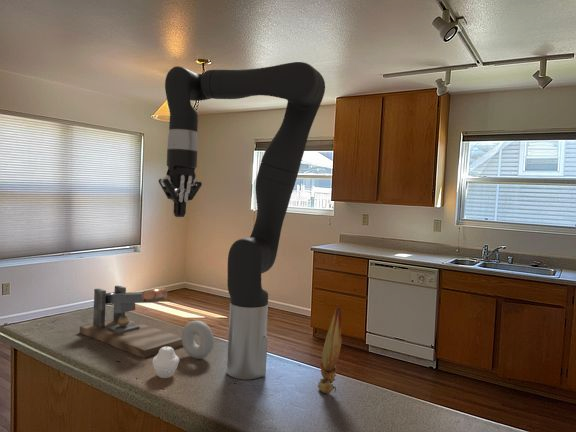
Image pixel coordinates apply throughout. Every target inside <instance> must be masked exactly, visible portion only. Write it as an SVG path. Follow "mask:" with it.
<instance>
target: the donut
mask: <svg viewBox="0 0 576 432" xmlns="http://www.w3.org/2000/svg"><path fill="white" fill-rule="evenodd" d="M195 334H196V335H198V336H199V338H200V345H199V344H197V342H196V340H195ZM181 338H182V344H183V346H182V348H183V349H184V351H185V353H186V354H188V356H190V357H191V358H193V359H197V360H201V359H204V358H207V357H208V356H209V355H210V354H211V353H212V351H213V349H214V344H215V336H214V333H213V331H212V329H211V327H210V326H209V325H208V324H207V323H206V322H204V321H201V320H192V321H189V322H188V323H187V324H185V325H184V327H183V330H182V331H181Z"/></svg>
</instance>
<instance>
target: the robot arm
mask: <svg viewBox="0 0 576 432" xmlns="http://www.w3.org/2000/svg"><path fill="white" fill-rule="evenodd" d="M164 88H165V89H164V90H165V95H166V100H167V101H166V102H167V107H168V110H169V121H168V122H169V125H168V126H169V127H168V135H167V146H166V149H167V150H166V166H167V171H166V174H165V176H164V177H163V178H159V179H158V184H159V186H160V187H161V189H162V190H163V192H164V194H165V196H166V198H167V199H168V200H171V201H172V202H173V215H174V217H176V218H185V216H186V214H187V213H186V211H187V210H186V209H187V203H188V202H189V201H192V200H194V197H196V195H197V193H198V192H199V190H200V189H201V187H202V184H203V183H202V181H198V179H197V178H196V172H195V171H196V168H198V148H199V147H198V146H199V143H198V142H199V139H198V126H199V125H198V123H199V116H198V115H199V114H198V112H197V110H196V109H195V108H194V107H193V106H192V102H191V101H195V102H199V101H207V100H211V99H213V100H239V99H244V98H248V97H249V98H250V97H252V96H253V97H255V96H256V97H257V96H263V97H265V96H266V97H273V98H279V99H284V100H286V101H287V103H286V109H285V113H284V115H283V119H282V122H281V124H280V126H279V129H278V130H277V132H276V134H275V135H274V137H273V138H272V139H271V141H270V142H269V144H268V145H267V147H266V149H265V151H264V153H263V155H262V158H261V161H260V164H259V167H258V171H257V175H256V180H255V197H256V208H257V209H256V210H257V211H256V218H255V222H254V226H253V228H252V232H251V233H250V234H251V235H250V236H249V237H244V238H240V239H236V241H234V242H233V243H232V244H231V246H230V247H229V250H228V253H227V254H228V255H227V291H228V294H229V296H230V300H229V317H228V318H229V319H228V338H227V339H228V340H227V354H226V355H227V359H226V361H227V362H226V373H227V375H228V376H230V377H231V378H233V379H238V380H254V379H257V378H261V377H262V378H263V377H266V376H267V375H266V374H267V357H268V356H267V355H268V341H269V340H268V339H269V338H268V335H267V328H268V309H269V307H268V306H269V292H267V290H265V289H263V287H262V286H263V285H262V275H263V274H264V273H267V272H268V271H269V270H271V269H272V267H273V266H274V264H275V261H276V258H277V254H278V249H279V244H280V238H281V232H282V228H283V224H284V220H285V217H286V215H287V210H288V207H289V203H290V201H291V197H292V193H293V191H294V190H295V189H294V187H295V185H296V182H297V178H298V175H299V172H300V168H301V164H302V161H303V157H304V154H305V150H306V146H307V143H308V138H309V135H310V132H311V129H312V126H313V123H314V121H315V118H316V115H317V113H318V111H319V108H320V106H321V103H322V101H323V98H324V96H325V91H326V83H325V79H324V76H323V75H322V74H321V72H320V71H318V70H317V69H316V68H315V67H314V66H312V65H311V64H310V63H308V62H304V61H302V60H301V61H292V62H285V63H282V64H276V65H271V66H266V67H257V68H237V69H236V68H229V69H227V68H225V69H223V68H221V69H220V68H219V69H218V68H217V69H215V68H214V69H208V70H205V71H204V72H203V73H196V72H194V71H192V70H189V69H187V68H186V67H183V66H178V65H177V66H173V67H172V68H170V70H169V71H168V73H166V76H165V82H164Z"/></svg>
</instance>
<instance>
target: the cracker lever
mask: <svg viewBox="0 0 576 432" xmlns="http://www.w3.org/2000/svg"><path fill="white" fill-rule="evenodd" d="M167 297H168V290H167V288H166V287H161V288H160V287H159V288H154V289H149V290H144V291H139V292H138V291H136V292H135V291H134V292H126V293H118V292H114V291H112V292H106V304H105V305H110V304H113V312H114V311H115V313H123V312H125V313H128V312H132V311H136V304H144V303H145V304H151V303H156V302H160V301H161V302H162V301H165V299H167Z"/></svg>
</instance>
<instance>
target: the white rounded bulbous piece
mask: <svg viewBox="0 0 576 432" xmlns="http://www.w3.org/2000/svg"><path fill="white" fill-rule="evenodd" d="M179 363H180V358H179V356H178V355H176V353H175V348H174V349H173V348H172V347H167V346H166V347H162V348H161V349H160V350H159V353H158V354H156V355H154V357H153V359H152V366H153V368H154V371H155V372H156V374H157V377H159V378H161V379H168V378H169V379H170V378H171V377H173V375H174V373H175V371H176V370H177V368H178V365H179Z"/></svg>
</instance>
